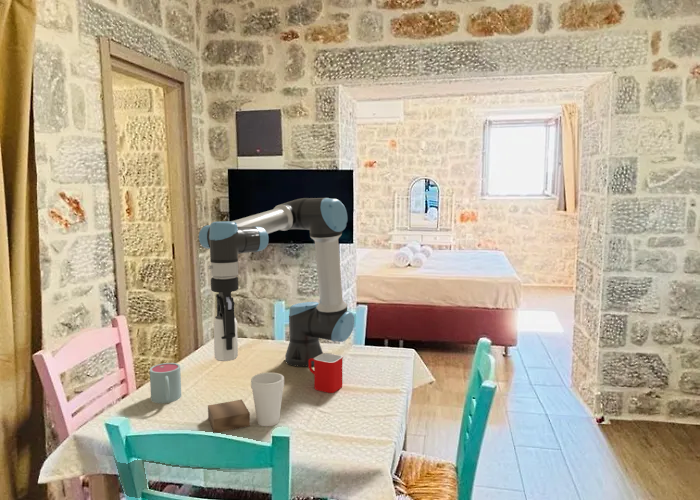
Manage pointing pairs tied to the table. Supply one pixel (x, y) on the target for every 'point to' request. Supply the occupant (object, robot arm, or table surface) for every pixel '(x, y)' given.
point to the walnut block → (228, 416)
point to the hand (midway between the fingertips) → (226, 356)
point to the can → (219, 341)
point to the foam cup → (267, 397)
